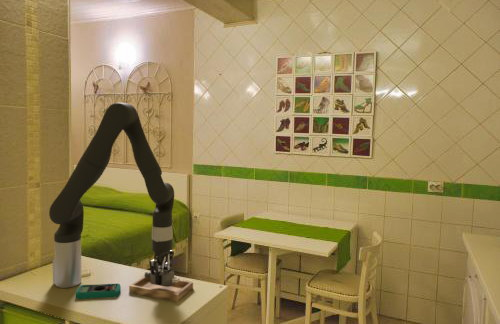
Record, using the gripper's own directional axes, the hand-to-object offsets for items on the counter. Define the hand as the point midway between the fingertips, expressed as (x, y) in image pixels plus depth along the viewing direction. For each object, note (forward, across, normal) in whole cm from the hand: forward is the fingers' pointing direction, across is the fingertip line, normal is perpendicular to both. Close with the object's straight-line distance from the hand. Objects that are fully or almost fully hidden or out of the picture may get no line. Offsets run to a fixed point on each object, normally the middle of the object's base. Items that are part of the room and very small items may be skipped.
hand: (162, 281), depth 147 cm
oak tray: (+3, 0, 0) cm, 3 cm away
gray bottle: (+1, 0, 0) cm, 1 cm away
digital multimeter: (+4, +11, -20) cm, 23 cm away
